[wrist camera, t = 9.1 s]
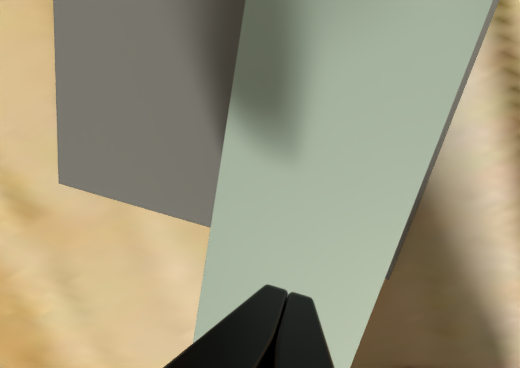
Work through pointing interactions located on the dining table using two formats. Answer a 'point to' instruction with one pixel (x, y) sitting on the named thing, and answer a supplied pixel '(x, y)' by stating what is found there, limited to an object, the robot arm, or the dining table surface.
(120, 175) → the grey flat rectangular slab
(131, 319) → the dining table surface
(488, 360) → the dining table surface
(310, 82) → the beam
